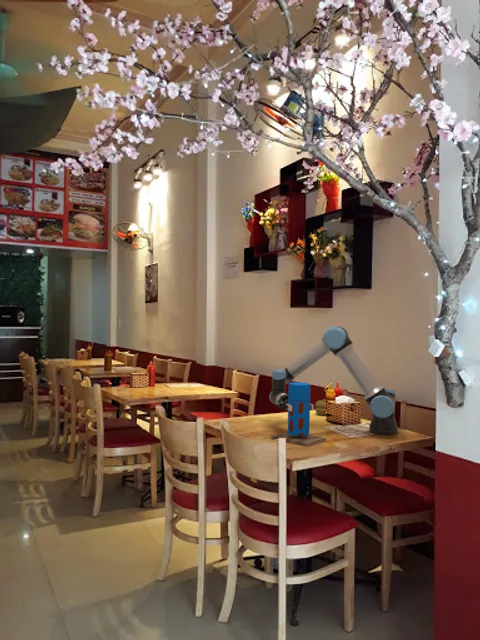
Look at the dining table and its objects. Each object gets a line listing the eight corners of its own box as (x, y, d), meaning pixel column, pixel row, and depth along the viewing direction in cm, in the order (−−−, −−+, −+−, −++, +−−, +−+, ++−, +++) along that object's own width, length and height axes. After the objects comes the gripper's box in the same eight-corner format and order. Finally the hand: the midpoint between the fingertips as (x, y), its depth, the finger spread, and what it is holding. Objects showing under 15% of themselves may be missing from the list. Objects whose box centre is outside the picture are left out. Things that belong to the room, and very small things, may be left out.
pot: (331, 413, 336) (331, 397, 336) (335, 416, 324) (335, 400, 324) (313, 413, 336) (313, 397, 336) (316, 416, 324) (316, 400, 324)
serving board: (325, 441, 259) (326, 438, 259) (307, 446, 248) (307, 443, 248) (290, 433, 274) (290, 431, 274) (271, 438, 263) (271, 435, 263)
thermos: (311, 436, 256) (312, 385, 256) (289, 436, 255) (290, 385, 255) (306, 431, 267) (307, 382, 266) (286, 431, 266) (287, 382, 266)
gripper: (305, 407, 282) (323, 414, 261) (264, 408, 275) (280, 416, 254) (305, 393, 282) (323, 399, 261) (264, 394, 275) (280, 401, 254)
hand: (302, 408), depth 257 cm, fingers closed on thermos, 11 cm apart
